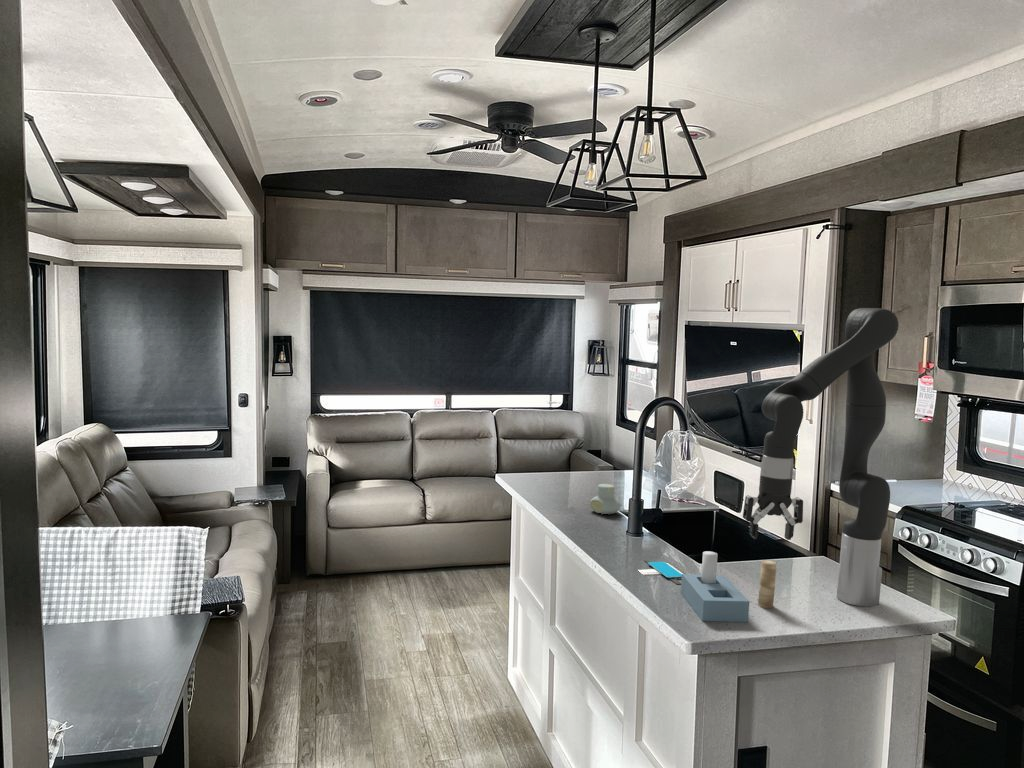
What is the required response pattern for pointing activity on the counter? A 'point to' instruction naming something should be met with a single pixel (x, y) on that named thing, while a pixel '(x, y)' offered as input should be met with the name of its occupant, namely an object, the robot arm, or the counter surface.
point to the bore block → (714, 594)
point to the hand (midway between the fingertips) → (770, 538)
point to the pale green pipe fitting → (605, 500)
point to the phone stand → (664, 570)
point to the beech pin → (767, 584)
